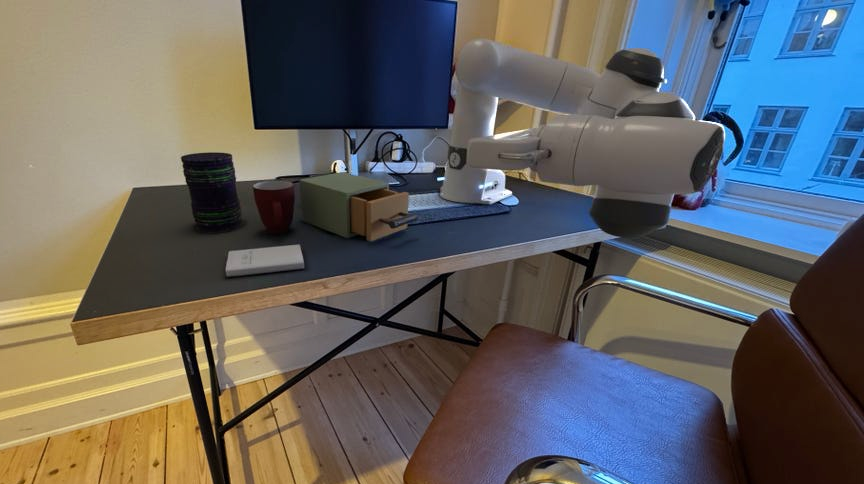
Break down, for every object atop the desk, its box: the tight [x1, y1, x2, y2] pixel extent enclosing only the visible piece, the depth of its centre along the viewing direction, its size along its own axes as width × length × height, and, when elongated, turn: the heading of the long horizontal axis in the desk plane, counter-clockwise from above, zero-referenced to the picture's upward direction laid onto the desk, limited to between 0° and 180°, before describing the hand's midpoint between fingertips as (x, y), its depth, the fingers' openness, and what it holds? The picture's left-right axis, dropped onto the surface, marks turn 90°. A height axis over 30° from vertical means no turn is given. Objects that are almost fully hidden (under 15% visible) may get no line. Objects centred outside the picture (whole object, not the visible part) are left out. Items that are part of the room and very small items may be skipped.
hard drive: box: [225, 244, 305, 278], centre depth 64 cm, size 2×8×12 cm
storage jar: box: [180, 151, 244, 234], centre depth 78 cm, size 10×10×15 cm
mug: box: [252, 180, 296, 235], centre depth 76 cm, size 11×8×10 cm
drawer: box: [349, 188, 418, 242], centre depth 77 cm, size 19×11×8 cm, turn 47°
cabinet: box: [298, 171, 390, 239], centre depth 83 cm, size 16×13×10 cm
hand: (471, 143), depth 58 cm, fingers closed
